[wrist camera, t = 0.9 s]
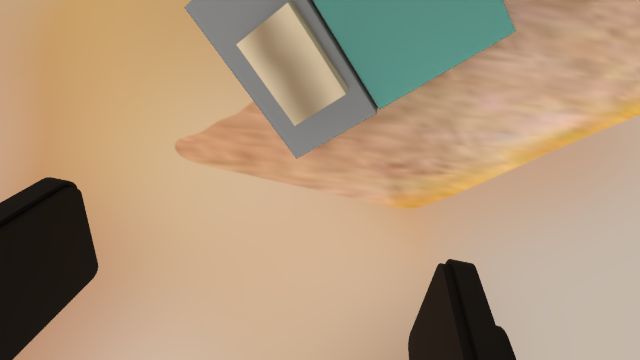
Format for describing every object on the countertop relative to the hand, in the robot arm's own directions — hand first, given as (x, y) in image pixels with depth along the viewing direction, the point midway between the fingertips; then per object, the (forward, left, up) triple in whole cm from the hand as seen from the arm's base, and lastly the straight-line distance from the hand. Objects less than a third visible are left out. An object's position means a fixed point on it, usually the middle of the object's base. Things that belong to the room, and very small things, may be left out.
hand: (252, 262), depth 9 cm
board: (+6, -4, -29) cm, 30 cm away
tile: (+5, -3, -27) cm, 28 cm away
